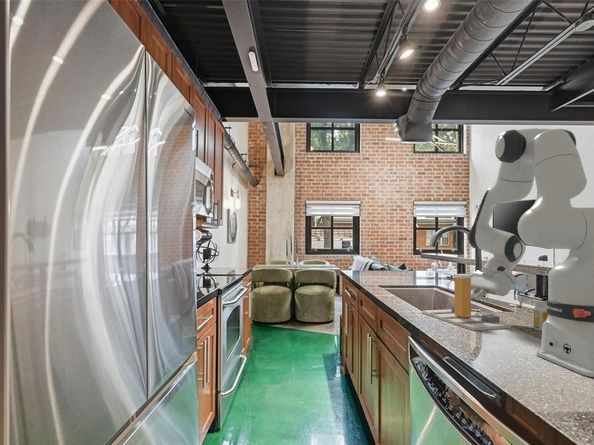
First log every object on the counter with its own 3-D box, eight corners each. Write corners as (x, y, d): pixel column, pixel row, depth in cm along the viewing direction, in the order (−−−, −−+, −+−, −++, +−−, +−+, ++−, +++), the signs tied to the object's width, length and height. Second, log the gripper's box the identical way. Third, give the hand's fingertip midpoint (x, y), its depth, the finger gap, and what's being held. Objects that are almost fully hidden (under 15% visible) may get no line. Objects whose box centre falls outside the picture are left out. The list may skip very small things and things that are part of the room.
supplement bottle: (531, 329, 120) (531, 301, 121) (537, 327, 124) (536, 299, 124) (550, 333, 116) (550, 303, 117) (555, 330, 120) (555, 301, 120)
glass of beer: (471, 317, 132) (471, 275, 133) (462, 317, 131) (461, 275, 132) (463, 314, 136) (463, 274, 137) (454, 315, 135) (454, 274, 136)
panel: (511, 327, 122) (511, 319, 122) (472, 330, 118) (472, 321, 118) (455, 311, 149) (455, 304, 149) (422, 313, 145) (422, 305, 145)
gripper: (470, 265, 148) (450, 289, 145) (511, 269, 128) (489, 297, 125) (479, 275, 149) (459, 299, 146) (521, 281, 129) (500, 309, 126)
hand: (473, 298), depth 135 cm, fingers closed
